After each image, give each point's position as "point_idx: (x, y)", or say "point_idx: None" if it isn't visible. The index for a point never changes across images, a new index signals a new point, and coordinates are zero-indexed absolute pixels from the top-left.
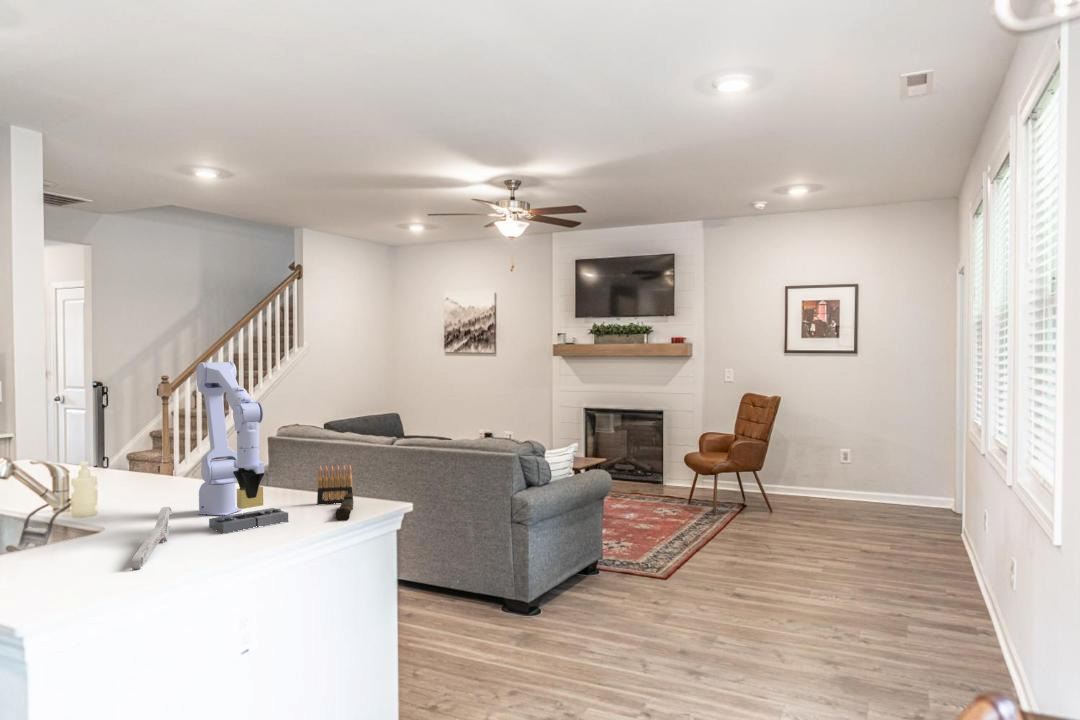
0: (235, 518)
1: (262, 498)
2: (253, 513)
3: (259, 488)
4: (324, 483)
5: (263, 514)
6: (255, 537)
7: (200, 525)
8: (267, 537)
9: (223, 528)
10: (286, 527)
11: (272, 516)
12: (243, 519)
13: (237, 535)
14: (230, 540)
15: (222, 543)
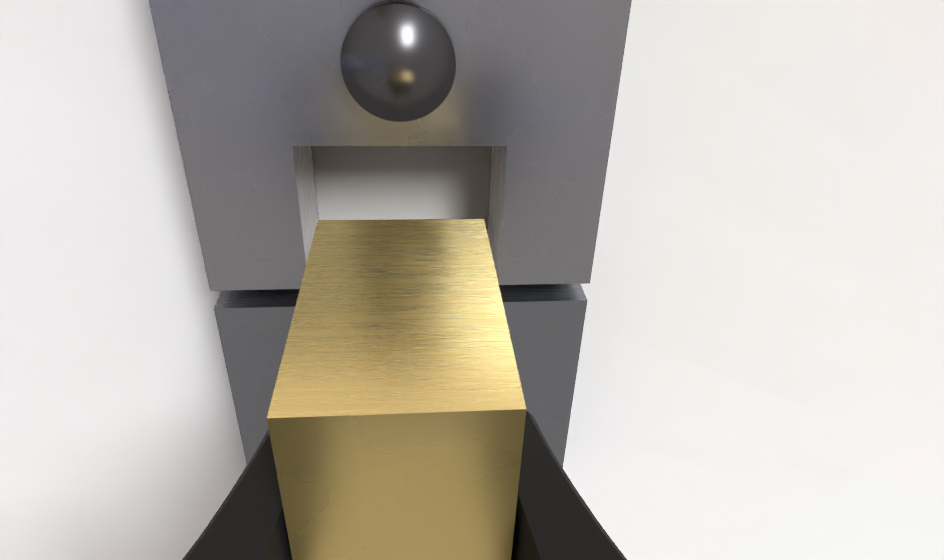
0: None
1: (493, 283)
2: (300, 210)
3: (519, 455)
4: None
5: (429, 143)
6: (828, 365)
7: (135, 495)
8: (917, 311)
9: None
10: (812, 33)
11: (610, 111)
12: (524, 387)
13: (660, 423)
14: (735, 485)
15: (752, 529)
